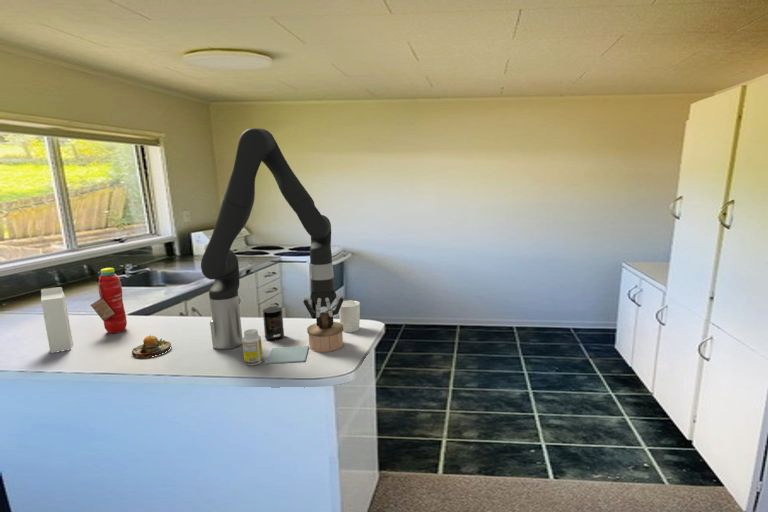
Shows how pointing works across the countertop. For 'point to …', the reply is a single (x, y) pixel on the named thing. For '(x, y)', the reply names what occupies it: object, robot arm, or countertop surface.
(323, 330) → the lid
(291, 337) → the countertop surface
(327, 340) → the bowl
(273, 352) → the mat
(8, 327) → the countertop surface
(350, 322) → the white cup
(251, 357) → the supplement bottle
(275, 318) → the supplement container
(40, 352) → the countertop surface
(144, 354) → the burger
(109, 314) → the water bottle
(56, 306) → the milk
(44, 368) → the countertop surface
